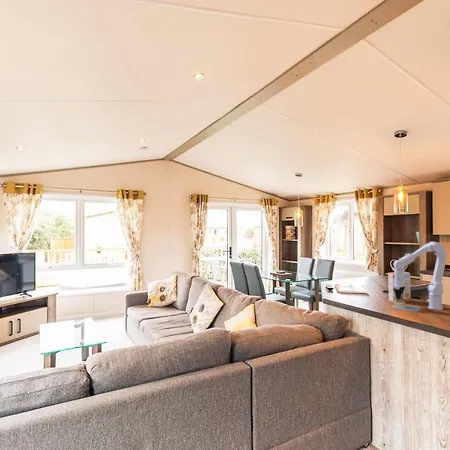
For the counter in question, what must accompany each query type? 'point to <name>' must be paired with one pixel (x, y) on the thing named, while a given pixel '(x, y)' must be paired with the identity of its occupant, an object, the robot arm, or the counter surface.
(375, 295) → the counter surface
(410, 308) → the building mat
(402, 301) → the walnut block
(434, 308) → the robot arm
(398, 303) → the beech slab
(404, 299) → the cracker box
